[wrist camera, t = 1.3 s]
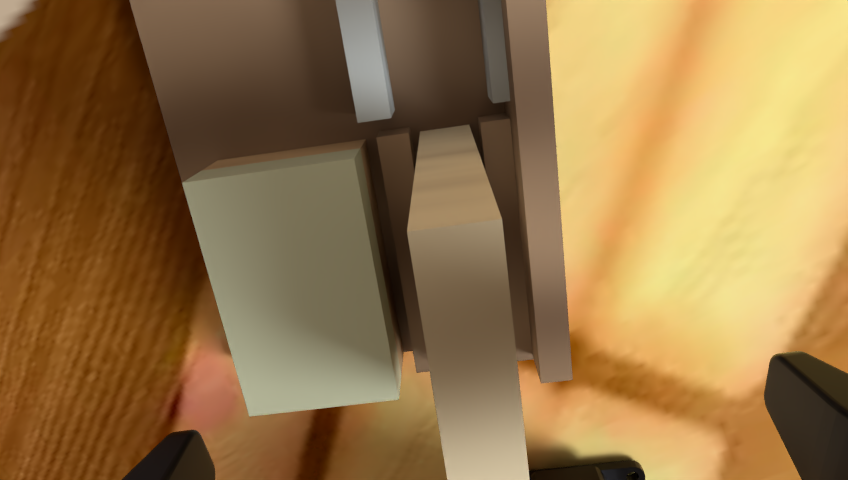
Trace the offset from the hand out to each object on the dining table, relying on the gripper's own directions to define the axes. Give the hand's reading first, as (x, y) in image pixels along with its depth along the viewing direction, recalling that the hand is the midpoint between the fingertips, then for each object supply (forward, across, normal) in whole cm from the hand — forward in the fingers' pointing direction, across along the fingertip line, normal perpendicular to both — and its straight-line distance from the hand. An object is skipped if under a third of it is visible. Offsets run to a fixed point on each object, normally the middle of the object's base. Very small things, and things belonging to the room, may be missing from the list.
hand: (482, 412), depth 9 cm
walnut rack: (+13, +3, -1) cm, 13 cm away
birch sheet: (+11, 0, +3) cm, 12 cm away
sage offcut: (+10, +5, +3) cm, 11 cm away
